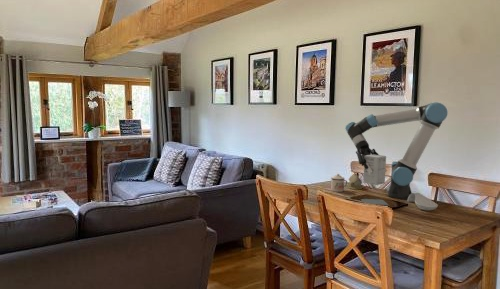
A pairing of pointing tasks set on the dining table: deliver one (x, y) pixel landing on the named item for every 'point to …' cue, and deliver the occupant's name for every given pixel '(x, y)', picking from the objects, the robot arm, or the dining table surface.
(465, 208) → the dining table surface
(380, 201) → the charcoal mat
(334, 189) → the teacup with lid
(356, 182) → the ceramic model
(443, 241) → the dining table surface
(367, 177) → the supplement box
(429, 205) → the spoon rest
